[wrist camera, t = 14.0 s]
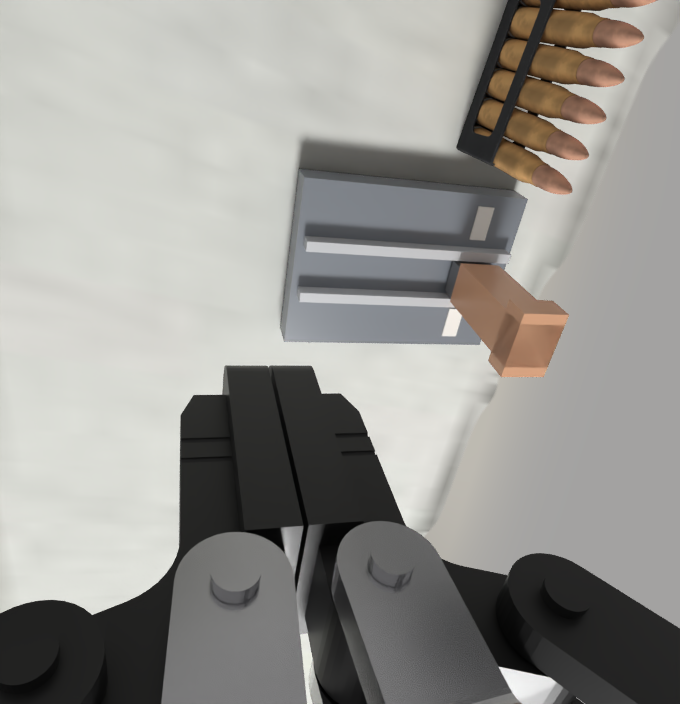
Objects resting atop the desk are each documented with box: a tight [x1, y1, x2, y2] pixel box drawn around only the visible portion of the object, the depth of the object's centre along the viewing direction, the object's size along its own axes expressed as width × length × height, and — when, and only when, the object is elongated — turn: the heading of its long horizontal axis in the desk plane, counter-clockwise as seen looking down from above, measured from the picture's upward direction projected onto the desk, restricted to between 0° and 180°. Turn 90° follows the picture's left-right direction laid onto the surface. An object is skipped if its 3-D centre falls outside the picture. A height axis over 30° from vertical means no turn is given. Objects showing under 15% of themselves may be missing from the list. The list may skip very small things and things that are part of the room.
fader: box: [445, 261, 569, 377], centre depth 38 cm, size 4×3×10 cm
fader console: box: [280, 169, 528, 345], centre depth 41 cm, size 12×16×3 cm
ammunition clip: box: [456, 0, 657, 194], centre depth 32 cm, size 11×2×12 cm, turn 165°
